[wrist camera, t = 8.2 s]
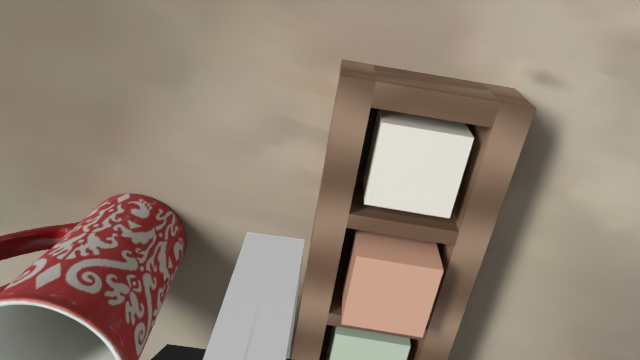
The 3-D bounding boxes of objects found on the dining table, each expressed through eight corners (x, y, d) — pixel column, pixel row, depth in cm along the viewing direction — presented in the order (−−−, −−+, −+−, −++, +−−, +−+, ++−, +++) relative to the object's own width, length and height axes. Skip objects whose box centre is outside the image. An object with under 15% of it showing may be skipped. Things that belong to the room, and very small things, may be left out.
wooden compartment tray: (342, 59, 32) (340, 75, 28) (514, 88, 32) (536, 108, 28) (290, 363, 43) (283, 404, 39) (417, 384, 43) (423, 427, 39)
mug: (216, 211, 37) (148, 343, 25) (179, 299, 41) (103, 452, 28) (49, 139, 35) (-113, 243, 23) (26, 238, 39) (-125, 372, 27)
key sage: (337, 301, 39) (335, 334, 36) (406, 312, 39) (410, 346, 36) (326, 353, 41) (324, 388, 38) (391, 363, 41) (394, 399, 38)
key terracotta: (356, 226, 34) (356, 256, 31) (435, 239, 34) (443, 270, 31) (342, 289, 36) (341, 324, 33) (416, 302, 36) (422, 337, 33)
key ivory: (379, 104, 32) (381, 122, 29) (462, 118, 32) (474, 137, 29) (363, 179, 34) (363, 204, 31) (440, 192, 34) (449, 218, 31)
